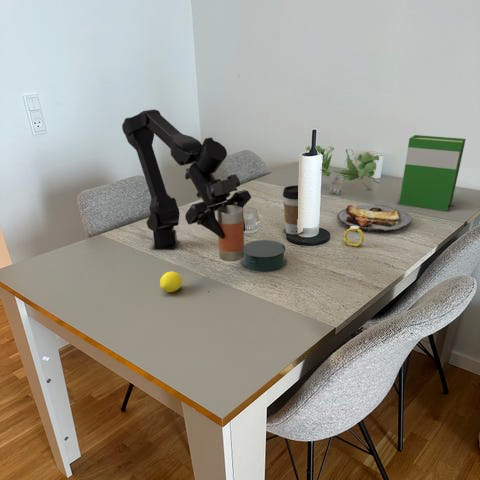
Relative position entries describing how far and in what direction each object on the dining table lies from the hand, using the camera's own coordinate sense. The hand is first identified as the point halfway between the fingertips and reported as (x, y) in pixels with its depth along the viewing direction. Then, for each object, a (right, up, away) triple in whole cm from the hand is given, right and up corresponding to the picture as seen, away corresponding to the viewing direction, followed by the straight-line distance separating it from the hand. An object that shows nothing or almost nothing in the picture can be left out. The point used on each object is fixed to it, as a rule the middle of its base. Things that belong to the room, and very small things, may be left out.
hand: (234, 234), depth 121 cm
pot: (+8, -5, +17) cm, 19 cm away
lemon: (-17, -15, +3) cm, 22 cm away
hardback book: (+73, +22, +58) cm, 95 cm away
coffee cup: (+20, +8, +37) cm, 43 cm away
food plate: (+48, +12, +43) cm, 66 cm away
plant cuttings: (+44, +32, +75) cm, 93 cm away
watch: (+37, +1, +26) cm, 45 cm away
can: (-1, -5, +4) cm, 7 cm away
